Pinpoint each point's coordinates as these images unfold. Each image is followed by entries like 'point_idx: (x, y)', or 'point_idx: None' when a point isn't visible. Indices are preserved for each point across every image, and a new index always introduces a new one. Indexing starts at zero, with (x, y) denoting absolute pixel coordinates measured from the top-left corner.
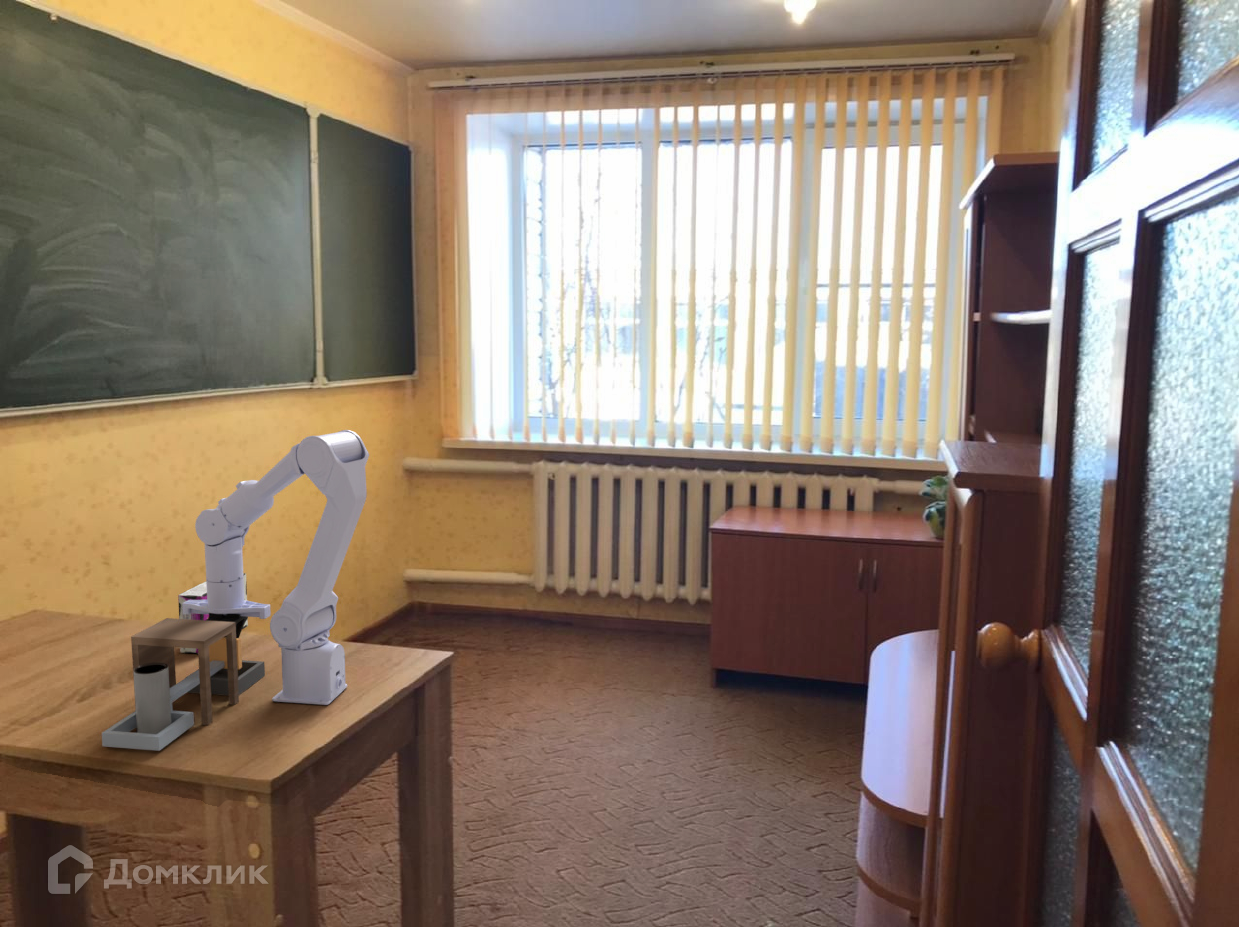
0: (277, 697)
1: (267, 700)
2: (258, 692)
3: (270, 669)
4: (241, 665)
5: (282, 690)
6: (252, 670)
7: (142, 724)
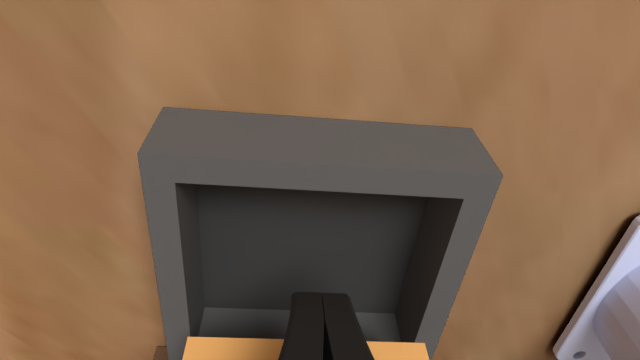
0: (574, 351)
1: (529, 337)
2: (482, 290)
3: (485, 29)
4: (426, 357)
5: (591, 307)
6: (459, 284)
7: None
